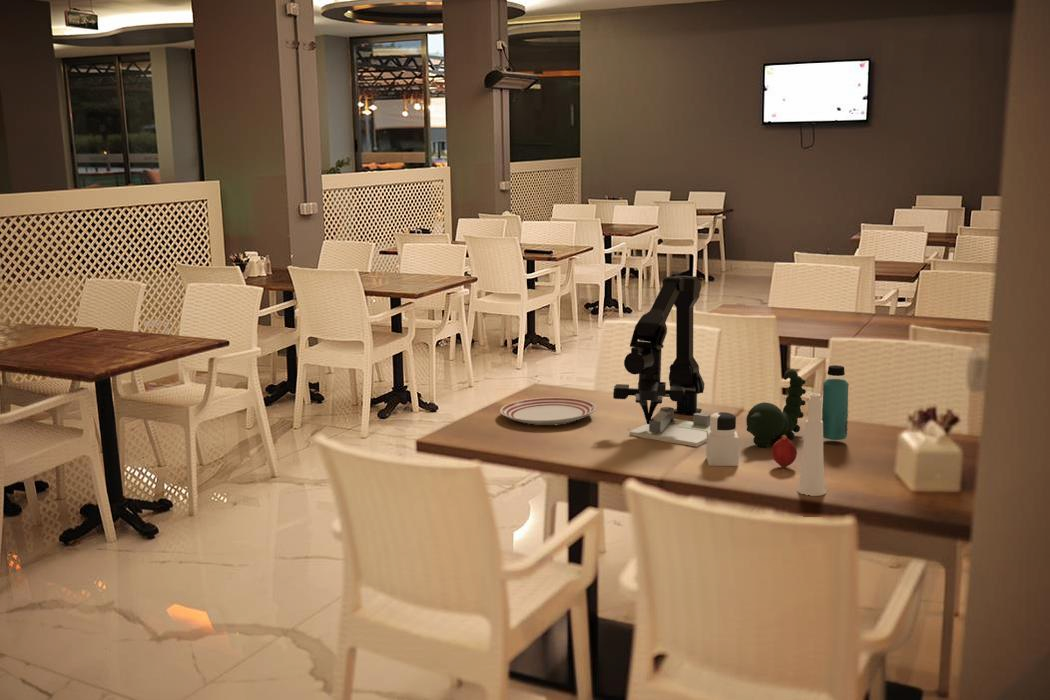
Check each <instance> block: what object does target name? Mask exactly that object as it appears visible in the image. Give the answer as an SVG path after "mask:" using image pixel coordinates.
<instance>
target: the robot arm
mask: <svg viewBox="0 0 1050 700" xmlns="http://www.w3.org/2000/svg"><path fill="white" fill-rule="evenodd" d="M701 289H702V282H701V280H699V279H698V277H697V276H696V275H695V276H694V275H693V276H690V275H674V276H666V277H664V278H663V280H662V286H661V288H660V290H659V291H658V294H657V296H656V298H655V301H654V302H653V304H652V306H651V308H650V310H649V311H648V312H645V313H644V314H643V315H642V316H640V318H639V320H638V321H637V322H636V323H635V326H634V329H633V334H632V336H631V340H630V343H629V347H630V352H629V353H628V354H627V355H626V356H625V358H624V360H623V364H624V365H623V366H624V368H625V370H626V371H627V373H629V374H631V375H638V383H637V388H634V387H632V388H630V385H629V384H623V383H622V384H619V383H617V384H615V385H614V387H613V391H612V392H613V393H612V394H613V397H612V398H613V399H615V400H626V399H628V397H629V396H633V397H634V396H635V403H638V404H639V405H640V406H641V409H642V411H643V416H644V418H645V421H646V424H649V421H650V420H651V419H652V418H653V415H654V412H655V410H656V408H657V406H658V405H659V404H660V405H661V404H662V403H663V399H664V398H669V399H670V400H671V402H676V408H675V409H674V412H675V413H674V414H681V415H688V416H693V414H695V413H700V412H701V411H703V410H702V408H698V394H703V393H704V391H705V381H704V380H703V377H702V375H701V373H700V366H699V363H698V362H697V361H696V359H695V357H694V307H695V306H696V304H697V302H698V300H699V298H700V293H701ZM674 306H675V310H676V311H675V312H676V317H675V319H676V320H675V321H676V322H675V324H676V328H675V329H676V330H675V331H676V333H675V340H676V344H675V345H676V349H675V350H676V351H675V352H676V353H675V356H676V357H675V359H674V361H673V363H672V364H670V366H669V373H668V374H669V375H668V382H669V389H666V387H667V386H666V385H667V382H666V381H661V374H662V372H661V371H662V349H664V343H665V339H666V336H667V334H668V327H667V324H666V323H667V319H668V317H669V315H670V313H671V311H672V309H673V307H674ZM648 401H649V403H650V404H648ZM648 405H649V406H648Z"/></svg>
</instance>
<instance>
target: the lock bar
mask: <svg viewBox="0 0 1050 700" xmlns="http://www.w3.org/2000/svg"><path fill="white" fill-rule="evenodd" d="M674 416H675V413H674V408H673V407H670V406H665V407H660V410H659V411H658V412H657V413H656V414H655V415H654V416H652V417H651V420H650V421H649V432H658V433H661V432H662V431H663V430H664V429H665V428H666V427H667V425H668V424H669V423H670V422H671V421H674V419H675V418H674Z"/></svg>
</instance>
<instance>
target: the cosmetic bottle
mask: <svg viewBox="0 0 1050 700" xmlns="http://www.w3.org/2000/svg"><path fill="white" fill-rule="evenodd" d="M807 401H808V404H807V406H808V407H807V419H806V420H805V425H804V435H803V436H804V437H803V445H802V446H803V447H802V459H801V468H800V475H799V482H798V485H797V489H796V491H797V492H798V493H799V494H801V495H803V494H805V495H804V496H808V495H810V496H809V497H820V496H824V495H825V494H826V493H827V489H826V481H825V473H824V472H825V471H824V469H825V468H824V438H823V421H822V420H821V419H822V405H823V399H821V394H820V393H810V394H809V398H808V400H807Z"/></svg>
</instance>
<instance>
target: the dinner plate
mask: <svg viewBox="0 0 1050 700" xmlns="http://www.w3.org/2000/svg"><path fill="white" fill-rule="evenodd" d="M596 409H597V407H596V404H595V403H593V402H591V401H589V400H585V399H582V398H581V399H580V398H575V397H559V396H558V397H557V396H555V397H554V396H550V397H549V396H548V397H537V398H536V397H534V398H527V399H521V400H517V401H516V400H515V401H513V402H509V403H507V404H505V405H503V406H502V407H501V408H500V409H499V413H500V415H501V416H503V417H506V418H507V419H510V420H513V421H516V422H518V423H519V422H520V423H522V422H523V423H522V424H525V423H528V424H527V425H530V424H536V425H535V426H538V425H555V424H563V425H565V424H564V423H568V424H570V423H569V422H572V421H575V422H576V420H577V421H578V420H581V419H583V418H586V417H588V416H591V415H592V414H593V413H594V412H595V411H596ZM572 423H573V422H572ZM555 426H556V425H555Z"/></svg>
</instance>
